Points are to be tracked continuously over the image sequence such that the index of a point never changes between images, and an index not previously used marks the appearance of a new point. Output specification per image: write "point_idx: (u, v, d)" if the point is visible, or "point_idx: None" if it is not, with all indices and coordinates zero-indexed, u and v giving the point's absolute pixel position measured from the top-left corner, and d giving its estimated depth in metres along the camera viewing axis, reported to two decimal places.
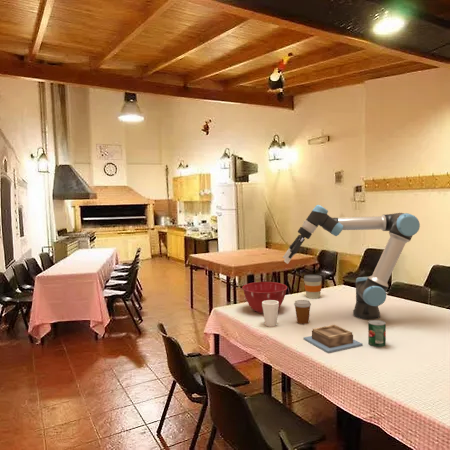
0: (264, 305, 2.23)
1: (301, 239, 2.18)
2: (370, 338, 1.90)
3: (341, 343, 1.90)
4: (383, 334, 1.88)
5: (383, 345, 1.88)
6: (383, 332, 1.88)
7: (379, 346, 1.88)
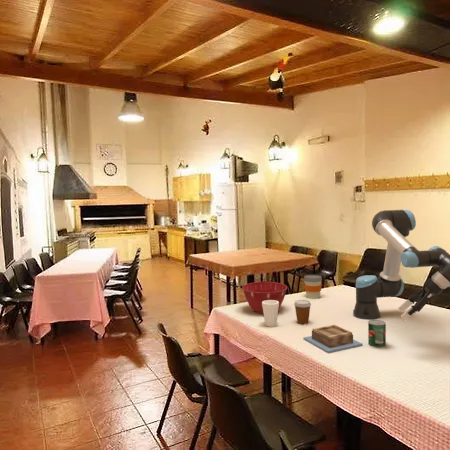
0: (264, 305, 2.23)
1: None
2: (370, 338, 1.90)
3: (341, 343, 1.90)
4: (383, 334, 1.88)
5: (383, 345, 1.88)
6: (383, 332, 1.88)
7: (379, 346, 1.88)
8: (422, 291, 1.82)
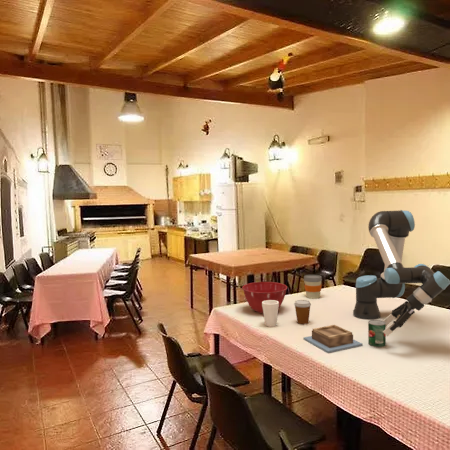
0: (264, 305, 2.23)
1: None
2: (370, 338, 1.90)
3: (341, 343, 1.90)
4: (383, 334, 1.88)
5: (383, 345, 1.88)
6: None
7: (379, 346, 1.88)
8: (404, 306, 1.84)
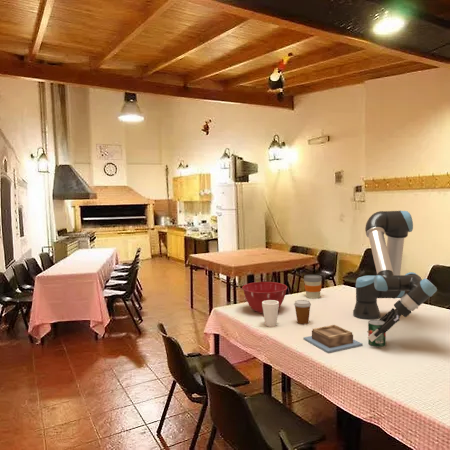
0: (264, 305, 2.23)
1: None
2: None
3: (341, 343, 1.90)
4: (383, 334, 1.88)
5: (383, 345, 1.88)
6: None
7: (379, 346, 1.88)
8: (391, 312, 1.87)
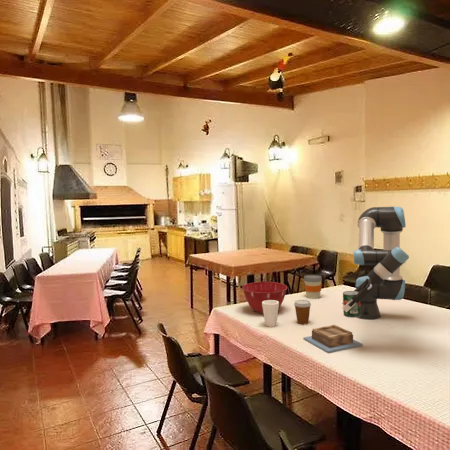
0: (264, 305, 2.23)
1: None
2: None
3: (341, 343, 1.90)
4: (357, 304, 1.88)
5: (358, 315, 1.88)
6: None
7: (354, 316, 1.88)
8: (365, 282, 1.87)
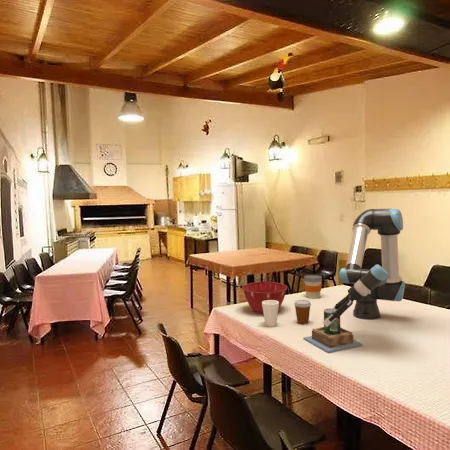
0: (264, 305, 2.23)
1: None
2: (325, 326, 1.94)
3: (341, 343, 1.90)
4: (337, 322, 1.92)
5: (337, 333, 1.92)
6: (337, 320, 1.92)
7: (333, 334, 1.92)
8: (345, 298, 1.91)
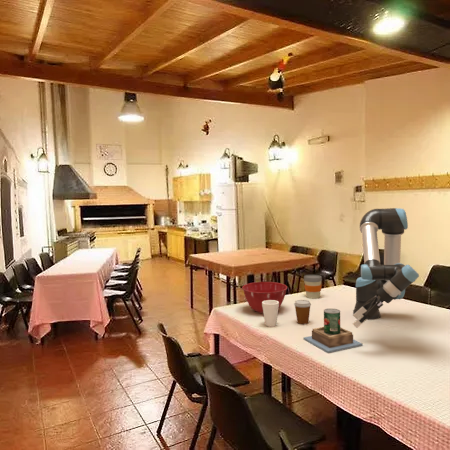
0: (264, 305, 2.23)
1: None
2: (325, 326, 1.94)
3: (341, 343, 1.90)
4: (337, 322, 1.92)
5: (337, 333, 1.92)
6: (337, 320, 1.92)
7: (333, 334, 1.92)
8: (374, 299, 1.87)
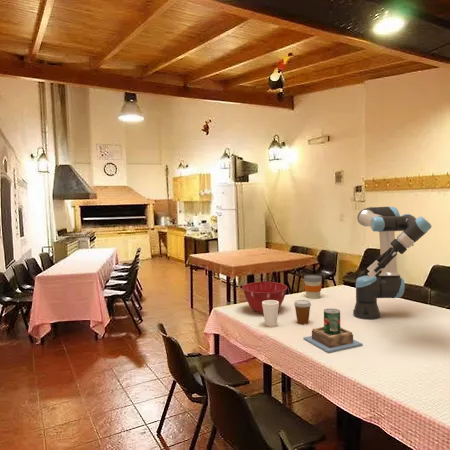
0: (264, 305, 2.23)
1: None
2: (325, 326, 1.94)
3: (341, 343, 1.90)
4: (337, 322, 1.92)
5: (337, 333, 1.92)
6: (337, 320, 1.92)
7: (333, 334, 1.92)
8: (388, 250, 1.95)
